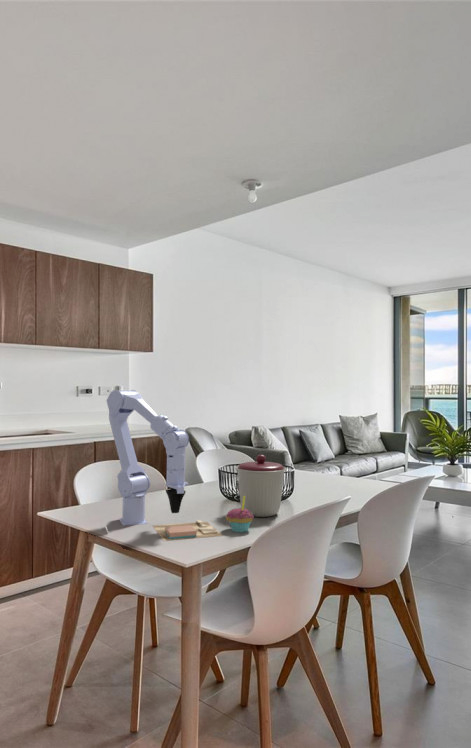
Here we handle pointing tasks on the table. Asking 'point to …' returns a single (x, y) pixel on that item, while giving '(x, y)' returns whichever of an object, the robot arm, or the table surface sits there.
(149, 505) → the table surface
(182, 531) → the tile
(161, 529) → the cork mat
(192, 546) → the table surface
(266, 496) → the canister
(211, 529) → the wooden turner
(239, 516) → the cupcake
